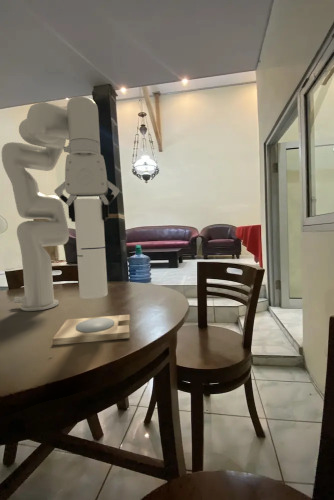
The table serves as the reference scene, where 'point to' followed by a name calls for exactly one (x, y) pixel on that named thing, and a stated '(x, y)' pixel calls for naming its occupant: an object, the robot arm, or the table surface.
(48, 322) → the table surface
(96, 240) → the cylindrical container
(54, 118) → the robot arm
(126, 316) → the notched board
